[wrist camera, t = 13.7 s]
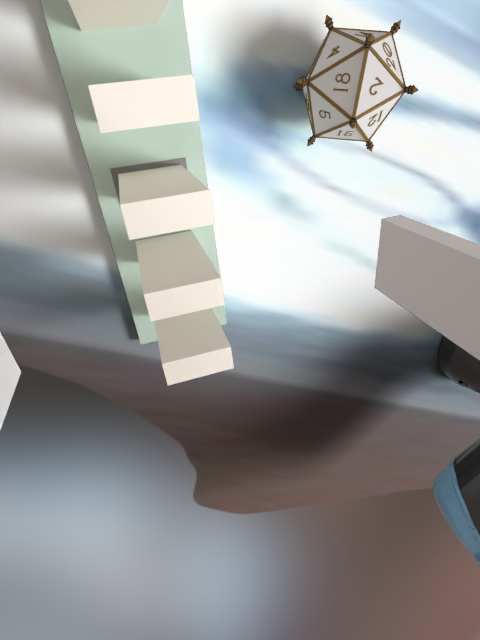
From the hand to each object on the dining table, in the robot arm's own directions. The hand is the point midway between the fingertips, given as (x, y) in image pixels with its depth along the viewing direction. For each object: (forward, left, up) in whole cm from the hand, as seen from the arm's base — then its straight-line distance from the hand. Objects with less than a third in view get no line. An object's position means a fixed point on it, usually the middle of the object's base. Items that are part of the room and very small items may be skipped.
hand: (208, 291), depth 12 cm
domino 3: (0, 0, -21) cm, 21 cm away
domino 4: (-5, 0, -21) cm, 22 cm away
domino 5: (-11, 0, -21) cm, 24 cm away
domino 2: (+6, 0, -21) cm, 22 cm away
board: (0, 0, -22) cm, 22 cm away
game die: (+5, -16, -23) cm, 28 cm away
